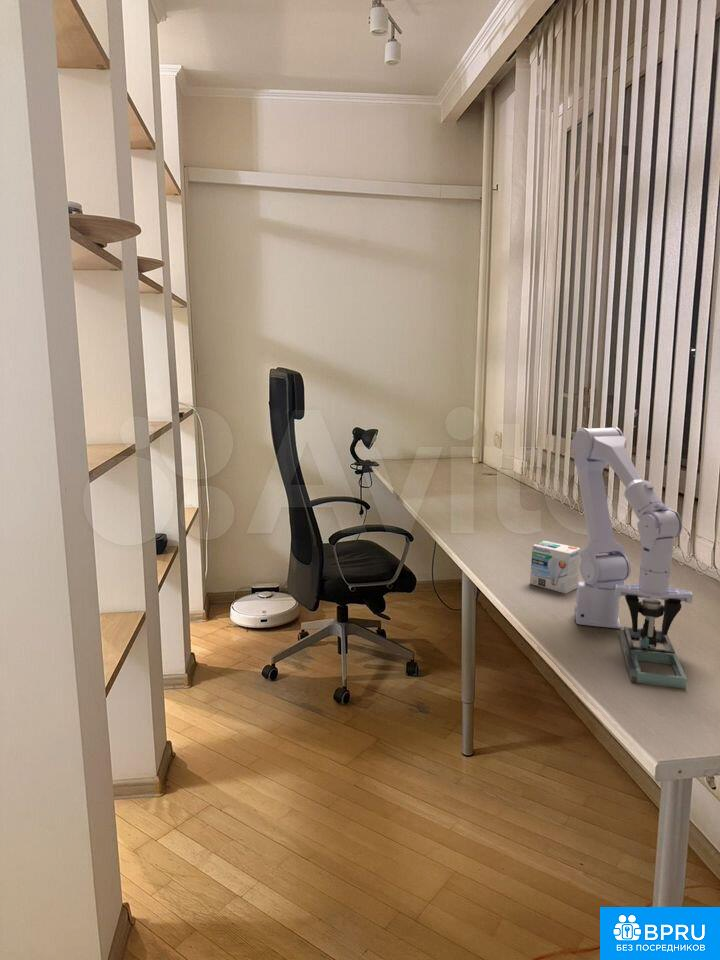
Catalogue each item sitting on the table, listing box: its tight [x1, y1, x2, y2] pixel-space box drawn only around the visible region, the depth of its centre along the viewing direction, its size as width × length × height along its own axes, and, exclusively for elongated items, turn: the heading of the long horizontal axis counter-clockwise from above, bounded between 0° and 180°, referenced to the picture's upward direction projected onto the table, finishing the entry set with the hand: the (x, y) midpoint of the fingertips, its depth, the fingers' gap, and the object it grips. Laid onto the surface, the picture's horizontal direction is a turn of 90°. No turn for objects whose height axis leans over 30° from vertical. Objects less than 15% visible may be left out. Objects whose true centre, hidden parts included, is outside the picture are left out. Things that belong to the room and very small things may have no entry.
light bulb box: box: [529, 540, 582, 595], centre depth 181 cm, size 11×7×11 cm, turn 47°
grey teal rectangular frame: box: [618, 626, 688, 690], centre depth 139 cm, size 9×22×2 cm, turn 166°
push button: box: [638, 598, 665, 649], centre depth 144 cm, size 7×5×10 cm
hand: (649, 631), depth 144 cm, fingers closed on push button, 5 cm apart
